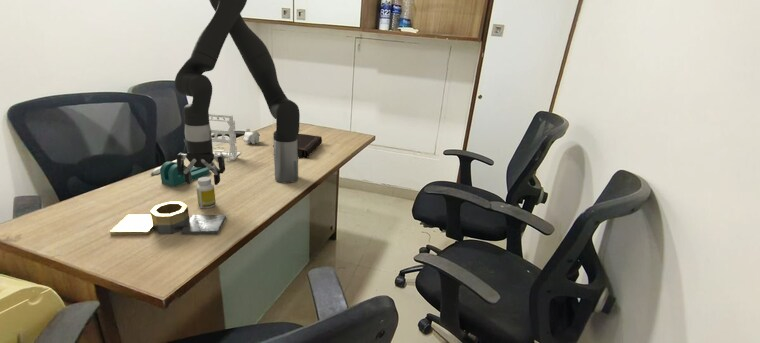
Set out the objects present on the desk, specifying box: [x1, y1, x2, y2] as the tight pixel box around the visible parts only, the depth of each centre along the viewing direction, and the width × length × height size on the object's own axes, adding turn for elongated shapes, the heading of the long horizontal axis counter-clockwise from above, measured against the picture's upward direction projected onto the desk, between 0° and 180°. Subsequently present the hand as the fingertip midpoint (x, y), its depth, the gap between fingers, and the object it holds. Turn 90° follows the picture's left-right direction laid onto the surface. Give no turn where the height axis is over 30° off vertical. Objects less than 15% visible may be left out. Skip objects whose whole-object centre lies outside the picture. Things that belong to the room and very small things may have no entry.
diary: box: [272, 133, 323, 159], centre depth 184 cm, size 19×25×5 cm
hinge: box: [109, 201, 227, 236], centre depth 108 cm, size 29×10×6 cm, turn 98°
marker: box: [149, 158, 177, 176], centre depth 148 cm, size 3×2×16 cm
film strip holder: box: [209, 113, 242, 163], centre depth 164 cm, size 14×14×20 cm
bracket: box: [159, 160, 211, 188], centre depth 141 cm, size 18×7×8 cm, turn 155°
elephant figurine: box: [241, 128, 261, 145], centre depth 187 cm, size 8×10×7 cm
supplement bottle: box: [195, 176, 217, 209], centre depth 121 cm, size 5×5×10 cm
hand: (203, 183), depth 120 cm, fingers open, 8 cm apart
